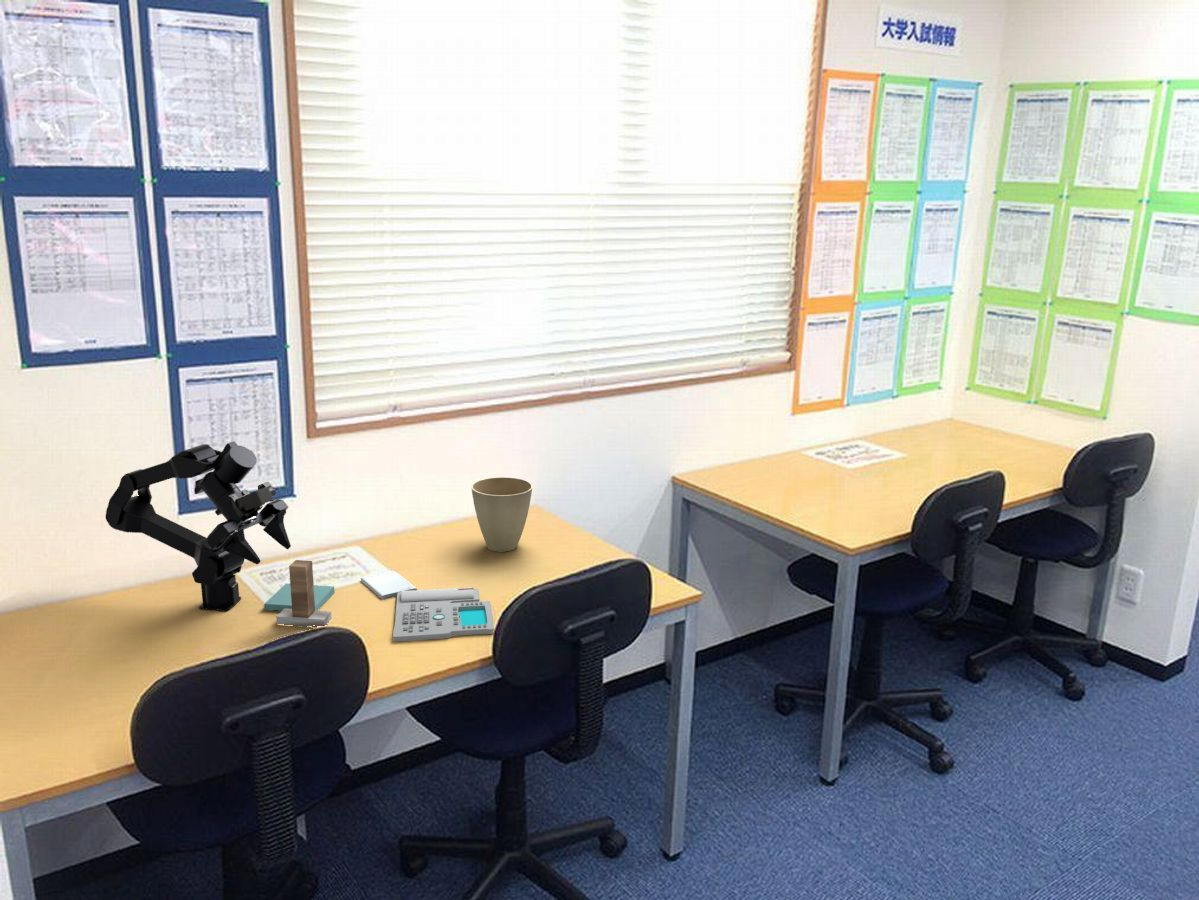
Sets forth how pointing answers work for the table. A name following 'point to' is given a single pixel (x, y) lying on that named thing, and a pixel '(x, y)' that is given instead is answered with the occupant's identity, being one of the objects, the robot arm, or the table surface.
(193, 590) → the table surface
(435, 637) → the office telephone
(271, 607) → the plate
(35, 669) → the table surface
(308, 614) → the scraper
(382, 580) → the hard drive
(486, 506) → the plant pot
